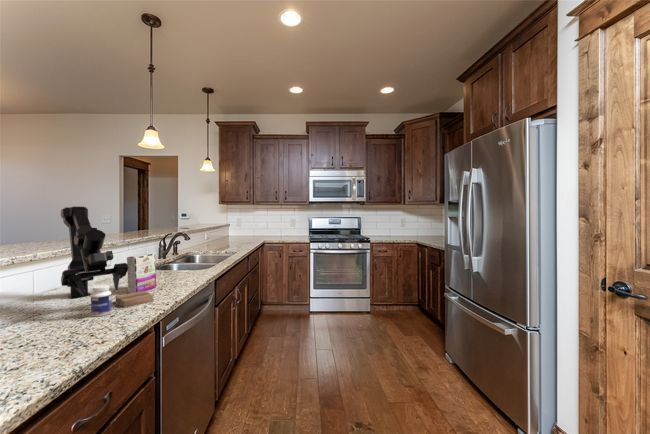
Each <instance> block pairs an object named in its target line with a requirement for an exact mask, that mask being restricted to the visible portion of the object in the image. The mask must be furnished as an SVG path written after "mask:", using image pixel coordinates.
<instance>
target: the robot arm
mask: <svg viewBox="0 0 650 434" xmlns="http://www.w3.org/2000/svg"><path fill="white" fill-rule="evenodd" d="M60 217H61V219H62V221H63V224H64V225H65V226H66V227H67V228H68V232H69V233H68V234H69V241H70V255H71V261H70V263H69V264H68V266H67V269H66V270H63V271H62V272H61V277H60V283H61V286H62V287H64V286H65V287H66V286H67V287H68V288H69V289H70V290H69V292H70V293H69V294H68V295H67V297H68V298H70V299H76V298H82V297H88V296H91V295H92V293H90V292H89V281H90V282H91V281H93V280H94V279H95V278H94V277H100V276H101V277H102V276H107V275H112V281H113V286H114V289H115V291H118V290H119V285H120V279H123V277H126V276H127V274H128V272H127V271H128V268H129V267H128V264H127V262H121V263H115V264H114V265H113V268H107V267H108V261H112V260H114V253H113V251H112V250H109V251H108V250H107V251H105V252H102V251H101V249H102V248H103V246H104V242H105V238H106V233H105V232H104V231H102V230H100V229H98V228H97V227H92V225H91V222H90V220H89V209H88V208H87V207H85V206H70V207H69V206H68V207H67V206H65V207H64V208H61V210H60Z"/></svg>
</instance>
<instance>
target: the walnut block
mask: <svg viewBox="0 0 650 434" xmlns="http://www.w3.org/2000/svg"><path fill="white" fill-rule="evenodd" d="M153 301H154V294H151V293H150V292H148V291H140V292H135V293H125V294H121V295H116V296H115V303H116V304H117V305H119V306H120V307H122V308H123V309H124V308H129V307H130V308H131V307H134V306H138V305H144V304H146V303H147V304H148V303H152V302H153Z"/></svg>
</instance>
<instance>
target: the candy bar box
mask: <svg viewBox="0 0 650 434" xmlns="http://www.w3.org/2000/svg"><path fill="white" fill-rule="evenodd" d="M126 264H128V267H129V268H128V271H127V291H128V292H127V294H130V293H135V292H140V291H146V292H148V291H149V289H150V290H152V289H156V287H157V277H156V276H157V272H156V253H149V252H148V253H143V254H138V255H132V256H128V257H126Z"/></svg>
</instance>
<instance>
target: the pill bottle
mask: <svg viewBox="0 0 650 434" xmlns="http://www.w3.org/2000/svg"><path fill="white" fill-rule="evenodd" d="M92 291H93V292H92V293H91V295H90V314H91V316H92V317H103V316H106V315H109V314H111V313H112V310H113V309H112V308H113V307H112V291H111V290H110V285H109V284H100V285H94V286H93V287H92Z"/></svg>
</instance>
